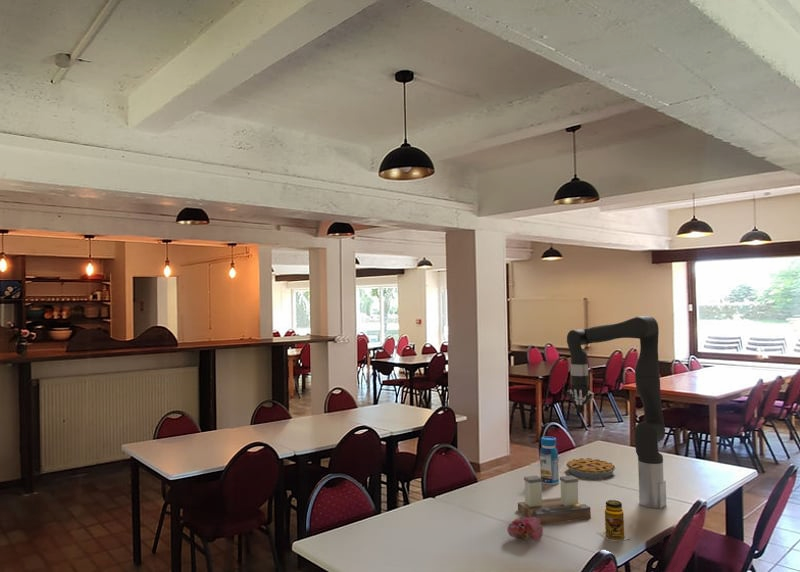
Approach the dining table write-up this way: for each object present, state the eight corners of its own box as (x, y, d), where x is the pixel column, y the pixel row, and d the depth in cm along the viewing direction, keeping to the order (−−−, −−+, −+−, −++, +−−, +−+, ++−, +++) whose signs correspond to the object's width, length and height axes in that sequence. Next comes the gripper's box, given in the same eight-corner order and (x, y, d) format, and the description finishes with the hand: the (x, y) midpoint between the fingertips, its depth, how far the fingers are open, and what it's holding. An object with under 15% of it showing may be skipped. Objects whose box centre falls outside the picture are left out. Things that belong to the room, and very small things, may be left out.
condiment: (612, 542, 196) (611, 506, 196) (597, 533, 204) (596, 498, 204) (630, 539, 198) (629, 504, 198) (614, 530, 206) (613, 496, 206)
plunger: (524, 503, 226) (524, 476, 226) (537, 501, 227) (536, 475, 227) (530, 507, 221) (529, 480, 222) (542, 505, 223) (542, 478, 223)
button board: (517, 510, 227) (517, 498, 227) (567, 504, 233) (566, 492, 233) (538, 525, 212) (538, 512, 212) (590, 517, 218) (590, 505, 218)
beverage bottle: (561, 485, 257) (560, 440, 258) (542, 485, 257) (541, 440, 258) (556, 479, 266) (555, 435, 266) (538, 479, 266) (537, 435, 266)
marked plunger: (560, 503, 225) (559, 476, 225) (572, 501, 226) (571, 475, 226) (566, 507, 220) (565, 480, 221) (579, 505, 222) (578, 478, 222)
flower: (512, 545, 203) (520, 516, 207) (538, 554, 197) (546, 525, 201) (500, 535, 195) (509, 506, 200) (527, 544, 189) (536, 514, 194)
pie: (557, 470, 281) (557, 460, 281) (591, 464, 290) (591, 454, 290) (589, 482, 261) (589, 471, 261) (625, 475, 270) (625, 465, 270)
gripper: (597, 374, 256) (598, 413, 256) (569, 372, 266) (571, 410, 265) (589, 376, 251) (590, 416, 250) (561, 374, 260) (563, 412, 260)
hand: (580, 413), depth 258 cm, fingers closed
